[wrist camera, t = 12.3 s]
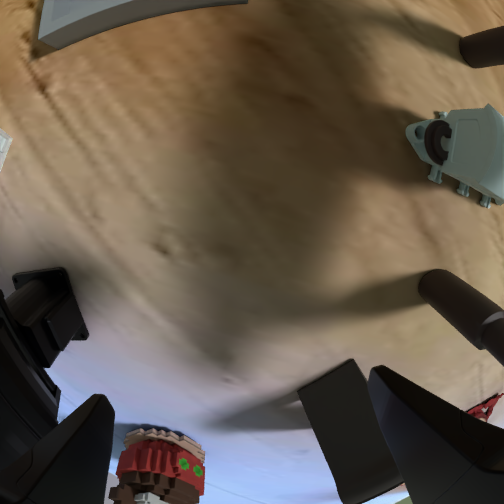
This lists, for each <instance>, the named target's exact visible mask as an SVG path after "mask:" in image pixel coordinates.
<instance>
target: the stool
mask: <svg viewBox="0 0 504 504" xmlns="http://www.w3.org/2000/svg"><path fill="white" fill-rule="evenodd" d="M460 53H461V54H462V55H463V56H464V58H465V60H466V61H467V62H468V63H469V64H470V65H471V66H472V67H474V68H484V67H490V66H496V65H504V26H501V27H497V28H493V29H489V30H486V31H482V32H479V33H475V34H472V35H469V36H466V37H464V38H462V39H461V40H460ZM439 115H440V119H429V120H425V121H421V122H417V123H414V124H410V125H408V126H407V128H406V137H407V139H408V140H409V142H410V143H411V145H412V147H413V148H414V150H415V151H416V153H417V154H418V156H419V158H420V159H421V160H422V161H424V162H427V163H429V164H431V165H432V168H431V172H430V175H428V179H429V180H431V181H434V182H436V183H439V184H440V183H442V180H441V176H442V172H443V173H445V174H447V175H449V176H451V177H453V178H455V179H457V180H459V181H460V185H459V189H457V193H459V194H461V195H463V196H466V197H468V196H469V193H468V191H469V187H472V188H474V189H475V190H477V191H479V192H481V193H482V194H483V196H482V200H481V201H480V205H483V206H484V207H486V208H490V206H491V205H490V201H491V197H492V198H494V199H495V203H496V204H498V205H500V206H501V205H502V204H503V203H504V117H503V116H502V115H501V114H500V113H499V112H498V111H496V110H495V109H494V108H493V107H492V106H491V105H490V104H487V105H486V106H485V108H480V109H461V110H451V111H450V112H449V113H448V115H447V112H440V113H439ZM415 130H416V132H417V137H416V136H415ZM419 293H420V295H421V297H422V298H423V299H424V300H425V301H426V302H427V303H428V304H430V305H431V306H432V307H433V308H434V309H435V310H436V311H437V312H438V313H439V314H441V315H442V316H443V317H444V318H445V319H446V320H447V321H448V322H449V323H450V324H451V325H452V326H454V327H455V328H456V329H457V330H458V331H459V332H460V333H461V334H462V335H463V336H464V337H465V338H466V339H467V340H468V341H469V342H470V343H472V344H473V345H474V346H475V347H476V348H478V349H479V350H483V349H486V350H488V351H489V352H490V353H491V354H492V355H493V356H494V357H495V358H496V359H497V360H498V361H499V362H500V363H501V364H502V365H503V366H504V310H503V309H502V308H501V307H499V306H498V305H497V304H495V303H494V302H493V301H491V300H490V299H489V298H487V297H486V296H485V295H483V294H482V293H480V292H479V291H477V290H476V289H475V288H473V287H472V286H470V285H469V284H467V283H466V282H465V281H463V280H462V279H460V278H459V277H457V276H456V275H454V274H452V273H451V272H449V271H447V270H434V271H432V272H430V273H428V274H427V275H425V276H424V277H423V279H422V280H421V282H420V284H419Z"/></svg>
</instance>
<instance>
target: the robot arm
mask: <svg viewBox="0 0 504 504" xmlns="http://www.w3.org/2000/svg"><path fill="white" fill-rule="evenodd" d="M59 272H60V273H61V274H62V276H61V275H60V273H59ZM12 280H13V283H14V286H15V289H16V291H15V292H14V293H12V294H11V295H10V296H9V297H8V298H7V299H4V294H3V292H2V290H1V289H0V504H104V498H105V490H106V483H107V476H108V471H109V465H110V459H111V453H112V445H113V431H114V420H115V411H114V409H113V407H112V405H111V404H110V402H109V400H108V399H107V397H106V396H105V395H103V394H93V395H92V396H91V397H90V398H89V399H87V400H86V401H85V402H84V403H83V404H82V405H80V406H79V407H78V408H77V409H76V410H75V411H73V412H72V413H71V414H70V415H69V416H68V417H67V418H65V419H64V420H63V421H62V422H61V423H60V424H58V421H57V415H58V408H59V401H60V395H61V390H60V389H59V387H58V386H57V385H55V384H54V382H53V381H52V380H51V378H50V377H49V375H48V374H47V372H46V371H45V368H50V367H51V365H52V364H53V362H54V361H55V359H56V358H57V356H58V355H59V353H60V352H61V351H64V349H65V348H66V346H67V345H68V343H69V342H70V341H71V340H87V338H88V337H89V332H88V330H87V328H86V325H85V323H84V320H83V317H82V315H81V312H80V309H79V307H78V304H77V301H76V299H75V296H74V293H73V291H72V288H71V285H70V282H69V279H68V275H67V272H66V270H65V269H64V268H61V267H59V268H52V269H45V270H38V271H31V272H24V273H17V274H15V275H14V276H13V277H12ZM82 333H83V334H84V335H83V334H82ZM367 386H368V392H369V395H370V398H371V401H372V404H373V407H374V410H375V413H376V417H377V420H378V423H379V426H380V428H381V430H382V433H383V435H384V437H385V439H386V442H387V444H388V446H389V448H390V451H391V453H392V455H393V457H394V460H395V462H396V464H397V467H398V469H399V471H400V474H401V476H402V478H403V481H404V483H405V486H406V488H407V490H408V493H409V495H410V498H411V500H412V502H413V504H504V429H502V428H500V427H497V426H494V425H492V424H489V423H487V422H485V421H482V420H480V419H478V418H476V417H474V416H472V415H470V414H468V413H467V412H465V411H463V410H460V409H459V408H457V407H456V406H454V405H452V404H450V403H448V402H447V401H445V400H443V399H441V398H439V397H438V396H436V395H434V394H432V393H431V392H429V391H427V390H425V389H424V388H422V387H420V386H419V385H417V384H415V383H413V382H412V381H410V380H408V379H406V378H405V377H403V376H401V375H400V374H398V373H396V372H395V371H393V370H391V369H389V368H388V367H386V366H384V365H379V366H376V367H373V368H372V369H371V371H370V375H369V380H368V385H367Z"/></svg>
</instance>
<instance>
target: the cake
mask: <svg viewBox="0 0 504 504" xmlns="http://www.w3.org/2000/svg"><path fill="white" fill-rule="evenodd" d="M124 444H125V447H126V450H125V451H122V453H121V456H120V458H119V462H118V466H117V471H116V475H117V476H118V478H119V481H120V482H119V485H117V487H111V488H110V493H109V497H108V498H109V499H111V500H113V501H114V504H198V503H199V496H202V495H204V479H205V467H204V466H203V463H204V460H205V451H203V450H201V445H200V444H198V443H196V442H194V441H193V440H191V439H190V438H188V437H186V436H185V435H184V436H181V437H179V436H178V435H176V434H175V433H173V432H171V431H170V432H167V433H166V432H165V431H163V430H160V431H157V430H155V429H154V428H152V429H150V430H147V431H144V430H143V429H141V428H140V429H137V430H134V431H132V432H129V433H127V434H126V438H125V439H124Z"/></svg>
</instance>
